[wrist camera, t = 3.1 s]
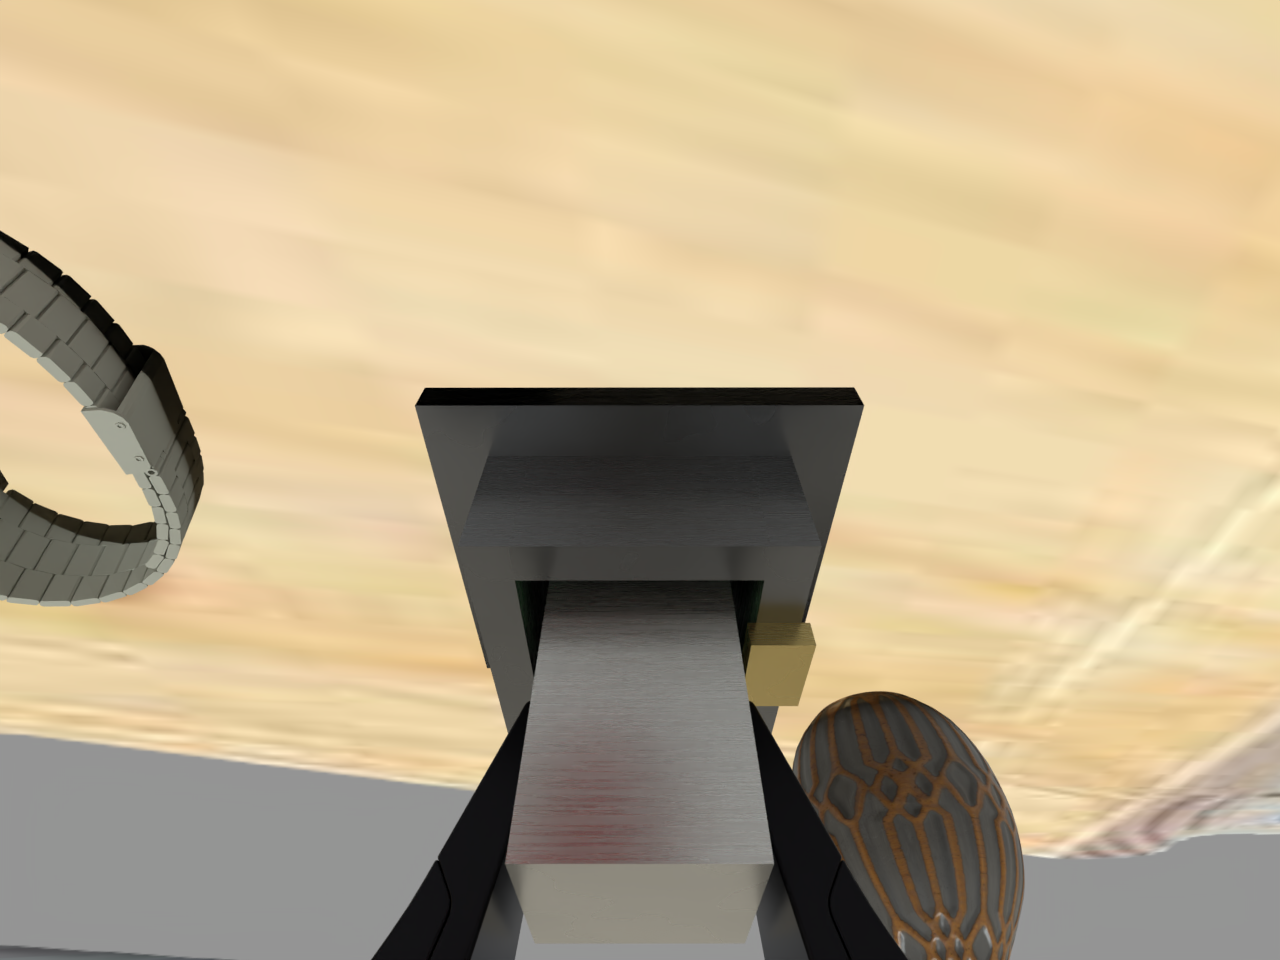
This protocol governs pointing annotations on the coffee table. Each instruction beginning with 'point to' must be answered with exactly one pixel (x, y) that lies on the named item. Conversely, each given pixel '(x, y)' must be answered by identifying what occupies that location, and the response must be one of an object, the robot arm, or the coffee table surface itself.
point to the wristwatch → (127, 425)
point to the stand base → (642, 507)
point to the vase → (917, 824)
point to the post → (639, 770)
